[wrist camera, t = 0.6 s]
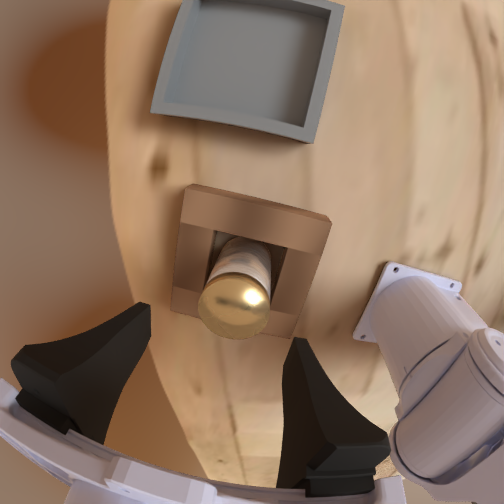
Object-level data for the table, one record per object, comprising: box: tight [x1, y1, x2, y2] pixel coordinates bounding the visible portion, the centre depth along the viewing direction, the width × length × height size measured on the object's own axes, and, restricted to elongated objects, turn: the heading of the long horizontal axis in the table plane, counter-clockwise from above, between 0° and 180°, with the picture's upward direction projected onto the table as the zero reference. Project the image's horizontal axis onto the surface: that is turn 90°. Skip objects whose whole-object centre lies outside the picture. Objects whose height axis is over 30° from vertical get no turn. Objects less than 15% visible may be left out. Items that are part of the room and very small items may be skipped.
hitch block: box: [170, 184, 332, 339], centre depth 21 cm, size 10×10×2 cm
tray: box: [150, 0, 345, 144], centre depth 14 cm, size 11×11×2 cm
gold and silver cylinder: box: [198, 236, 271, 339], centre depth 18 cm, size 4×4×7 cm
